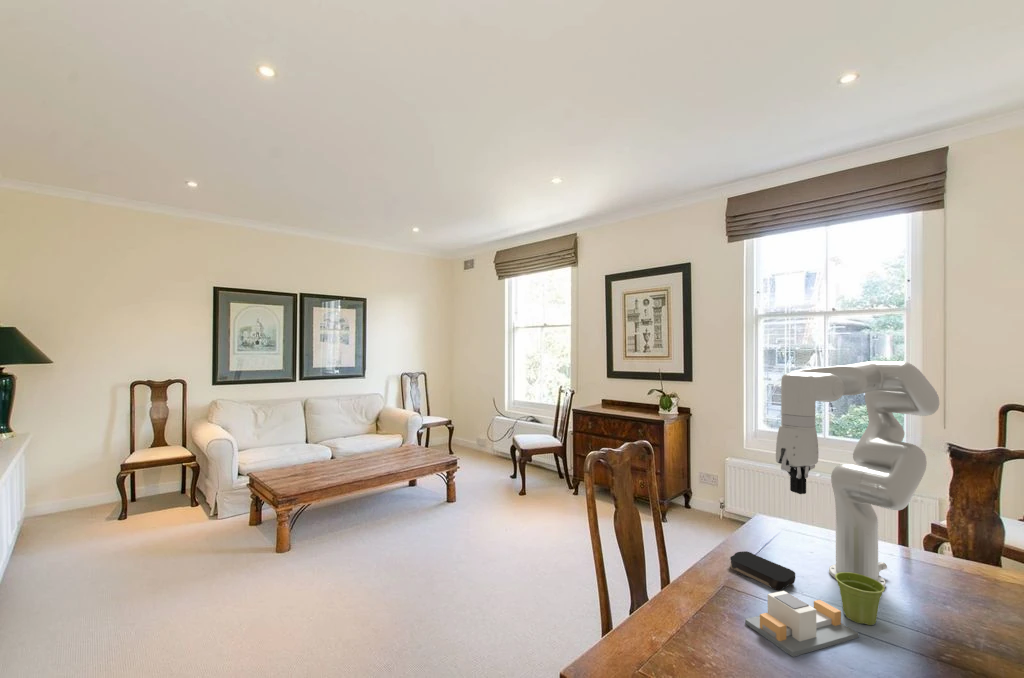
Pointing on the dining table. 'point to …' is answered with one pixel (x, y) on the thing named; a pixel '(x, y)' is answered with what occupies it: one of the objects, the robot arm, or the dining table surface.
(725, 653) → the dining table surface
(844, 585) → the plant pot
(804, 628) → the block
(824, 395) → the robot arm
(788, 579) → the black sponge
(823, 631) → the rail board
